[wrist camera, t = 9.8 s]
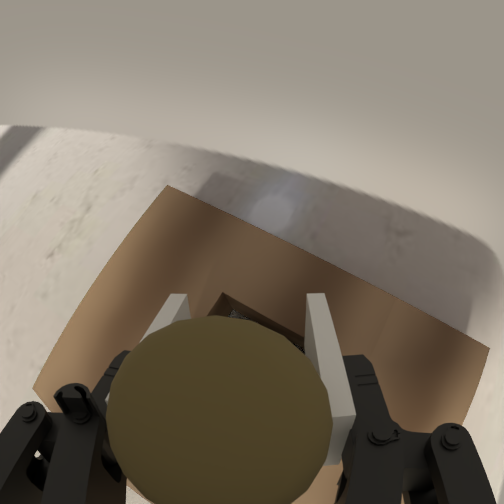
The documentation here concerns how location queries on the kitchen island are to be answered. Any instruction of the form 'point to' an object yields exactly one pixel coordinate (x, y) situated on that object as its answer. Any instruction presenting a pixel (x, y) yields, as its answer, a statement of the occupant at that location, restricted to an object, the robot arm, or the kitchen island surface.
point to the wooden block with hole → (262, 315)
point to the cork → (218, 415)
